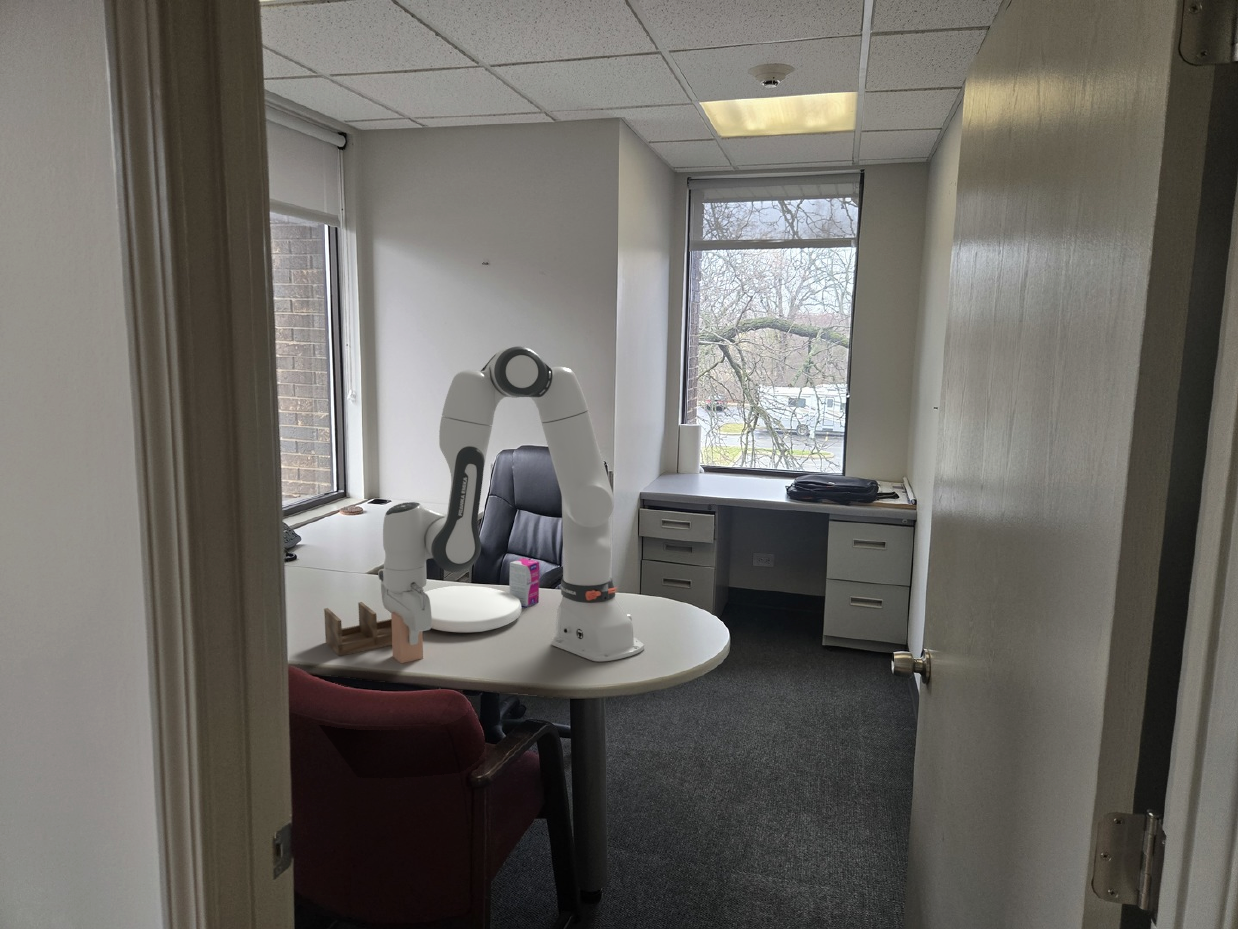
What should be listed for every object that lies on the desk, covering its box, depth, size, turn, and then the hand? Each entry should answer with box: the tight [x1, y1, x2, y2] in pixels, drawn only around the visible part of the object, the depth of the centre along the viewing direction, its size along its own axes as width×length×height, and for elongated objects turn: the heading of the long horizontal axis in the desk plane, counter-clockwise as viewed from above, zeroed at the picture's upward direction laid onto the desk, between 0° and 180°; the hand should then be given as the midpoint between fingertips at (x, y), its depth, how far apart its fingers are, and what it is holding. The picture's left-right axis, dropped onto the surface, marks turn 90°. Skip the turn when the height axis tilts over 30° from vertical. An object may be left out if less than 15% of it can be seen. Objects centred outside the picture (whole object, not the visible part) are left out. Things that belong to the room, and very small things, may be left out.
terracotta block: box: [390, 612, 424, 664], centre depth 178 cm, size 5×5×10 cm
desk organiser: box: [323, 601, 392, 657], centre depth 187 cm, size 10×16×8 cm, turn 126°
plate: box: [423, 585, 522, 633], centre depth 204 cm, size 28×6×27 cm
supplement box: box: [508, 557, 540, 609], centre depth 215 cm, size 6×6×12 cm
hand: (407, 639), depth 178 cm, fingers closed on terracotta block, 5 cm apart
